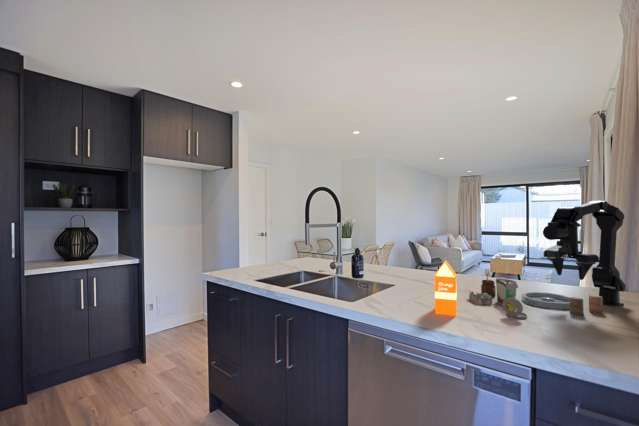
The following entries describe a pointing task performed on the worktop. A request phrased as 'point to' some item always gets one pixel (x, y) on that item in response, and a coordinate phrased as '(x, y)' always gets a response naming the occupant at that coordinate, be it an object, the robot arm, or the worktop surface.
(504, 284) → the food container
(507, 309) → the pocket watch
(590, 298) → the brown cork stopper
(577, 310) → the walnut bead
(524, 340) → the worktop surface
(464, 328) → the worktop surface
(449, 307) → the orange juice
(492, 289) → the utensil holder
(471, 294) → the egg carton
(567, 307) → the groove tray
